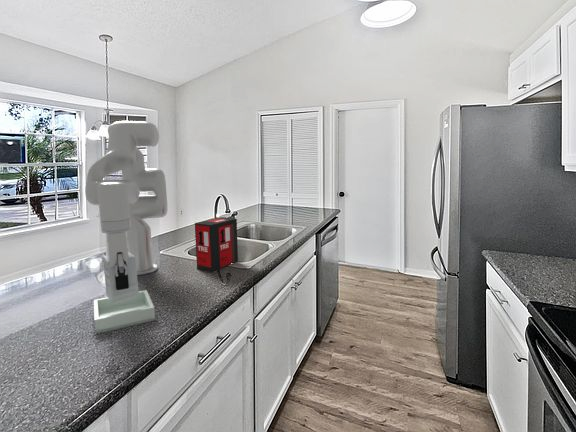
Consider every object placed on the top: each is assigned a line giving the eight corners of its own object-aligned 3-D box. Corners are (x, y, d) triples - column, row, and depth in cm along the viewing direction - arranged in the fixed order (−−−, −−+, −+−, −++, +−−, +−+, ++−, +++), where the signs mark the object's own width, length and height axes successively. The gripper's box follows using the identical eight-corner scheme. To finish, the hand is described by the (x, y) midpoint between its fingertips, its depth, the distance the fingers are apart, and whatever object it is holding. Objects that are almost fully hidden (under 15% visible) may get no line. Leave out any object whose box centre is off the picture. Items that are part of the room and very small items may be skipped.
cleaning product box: (212, 272, 137) (210, 225, 134) (197, 269, 142) (194, 223, 138) (237, 262, 152) (236, 218, 148) (222, 259, 156) (221, 217, 153)
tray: (95, 312, 102) (93, 299, 101) (147, 301, 110) (146, 290, 109) (95, 333, 89) (94, 320, 89) (155, 320, 97) (154, 307, 96)
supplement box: (132, 290, 104) (129, 250, 101) (139, 297, 98) (136, 256, 96) (105, 296, 99) (101, 255, 97) (111, 304, 93) (107, 261, 91)
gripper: (100, 222, 100) (105, 277, 103) (102, 232, 86) (108, 297, 88) (127, 219, 104) (132, 273, 107) (134, 229, 89) (139, 291, 92)
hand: (121, 283), depth 98 cm, fingers closed on supplement box, 8 cm apart
